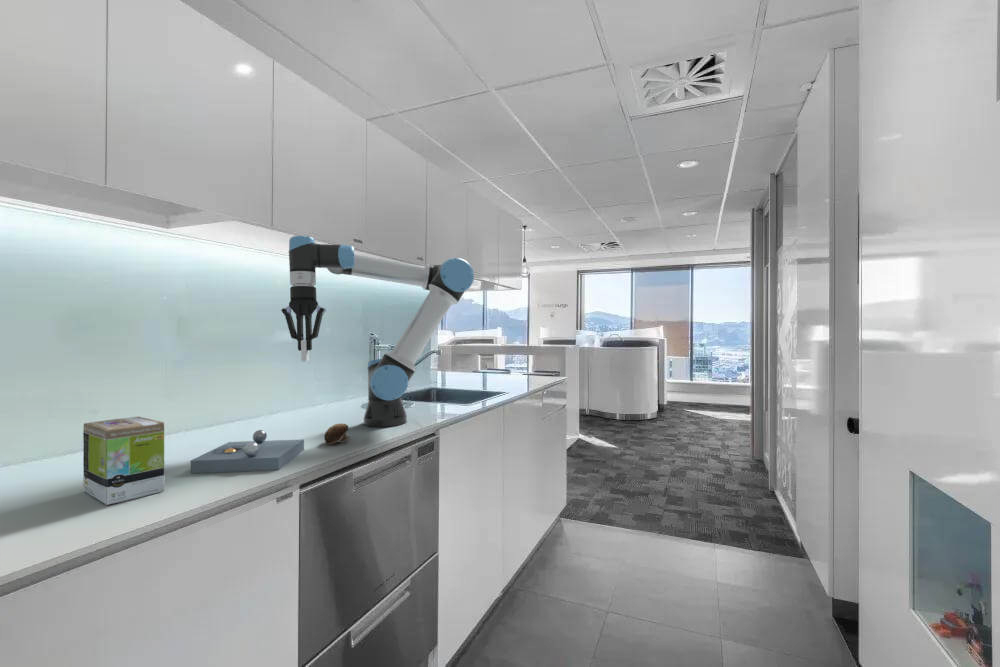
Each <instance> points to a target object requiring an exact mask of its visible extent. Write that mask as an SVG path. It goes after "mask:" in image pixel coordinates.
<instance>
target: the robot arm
mask: <svg viewBox="0 0 1000 667" xmlns="http://www.w3.org/2000/svg"><path fill="white" fill-rule="evenodd" d="M288 245H289V246H288V257H289V258H288V260H289V284H290V285H291V286H290V288H289V289H290V290H289V293H290V294H289V297H290V301H289V303H288V305H287V306H286V307H284V308H281V313H282V314H283V315H284V317H285V321H286V324H287V327H288V332H289V334H290V338H291V339H294V340H296V341H297V350H298V351H299V352H301V354H300V356H301V358H300V359H301V362H309V361H310V353H309V352H310V351H312V349H313V345H312V344H313V340H314V339H316V338H319V333H320V328H321V324H322V320H323V316H324V314H325V312H326V310H327V309H326V308H324V307H322V306H320V305H319V302H318V301H317V288H316V287H315V286H316V285H317V277H316V274H317V273H316V269H317V268H319V269H327V270H328V271H329V273H332V274H334V275H338V276H339V275H346V276H347V275H348V276H353V277H354V276H355V277H361V278H367V279H371V280H372V279H374V280H379V281H383V282H384V281H386V282H392V283H396V284H397V283H398V284H404V285H411V286H416V287H421V288H422V289H423V290H425V291H429V292H428V294H427V296H426V297H425V298H424V301H423V302H422V304H421V305H420V306H419V308H418V309H417V311H416V313H415V314H414V315H413V318H412V319H411V321H410V322H409V324H408V325H407V327H406V328H405V330H404V332H403V333H402V335H401V337H400V338H399V340H398V341H397V342H396V344H395V346H394V347H393V349H391V351H387V352H385V353H384V355H383V356H382V358H376V359H375V358H374V359H370V360H369V361H368V364H367V373H368V374H367V376H368V377H367V379H368V381H367V382H368V383H367V384H368V387H367V388H368V394H367V395H368V403H367V406H366V409H365V413H364V416H363V425H364V426H367V427H374V428H375V427H376V428H377V427H378V428H379V427H381V428H382V427H384V428H385V427H394V426H398V425H403V424H405V423H407V422H408V420H407V419H408V418H407V417H408V416H407V412H406V410H405V407H404V404H403V400H402V397H403V395H404V394H405V392H406V391H407V389H408V387H409V382H410V380H411V379H412V377H413V376H414V373H415V372H416V368H415V363H416V362H417V360H418V359H419V358H420V356H421V354H422V353H423V351H424V350H425V348H426V346H427V344H428V343H429V341H430V340H431V338H432V337H433V335H434V334H435V331H436V330H437V328H438V327H439V325H440V324H441V322H442V320H443V319H444V317H445V316H446V314H447V312H448V310H449V309H450V308H451V306H453V305H457V304H458V303H459V302H460V300H461V298H462V297H463V295H464V293H465V292H466V291H467V290H469V289H470V288H471V286H472V285H473V283H474V279H475V273H474V269H473V267H472V265H471V264H470V263H469V261H467V260H465V259H463V258H460V257H454V258H452V257H451V258H449V259H447V260H445V261H444V262H443V263H442V264H430V263H427V264H426V265H418V264H413V263H407V262H401V261H397V260H390V259H384V258H383V259H382V258H379V257H378V258H377V257H372V256H367V255H361V254H356V253H355V247H354V246H353V245H348V244H344V243H343V244H330V243H329V244H327V243H326V244H324V243H322V244H321V243H316V241H315V238H314V237H312V236H309V235H294V236H291V237H290V238H289V241H288ZM315 311H316V315H315V319H314V325H312V324H313V323H312V319H313V318H312V317H313V313H314V312H315ZM292 312H293V313H294V314H295V318H296V326H295V323H294V318H293V316H292V314H291V313H292ZM304 320H305V322H304ZM304 324H305V325H304ZM304 326H305V327H304ZM312 327H313V328H312ZM304 328H305V338H304Z"/></svg>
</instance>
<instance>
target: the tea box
mask: <svg viewBox="0 0 1000 667" xmlns="http://www.w3.org/2000/svg"><path fill="white" fill-rule="evenodd" d="M82 430H83V433H82V434H83V436H82V437H83V438H82V440H83V442H82V443H83V449H82V450H83V453H82V454H83V455H82V456H83V458H82V459H83V463H82V465H83V478H82V479H83V480H82V481H83V491H84V492H85V493H87V494H89V495H90V496H91V497H93V498H95V499H97V500H99V501H100V502H101V503H103V504H104V505H107V506H108V505H113V504H118V503H122V502H127V501H131V500H135V499H138V498H142V497H147V496H151V495H154V494H158V493H161V492H164V490H165V477H166V476H165V422H163V421H160V420H155V419H151V418H146V417H142V416H132V417H131V416H130V417H124V418H123V417H122V418H115V419H114V418H113V419H107V420H99V421H91V422H84V423H83V429H82Z"/></svg>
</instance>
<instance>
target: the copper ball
mask: <svg viewBox="0 0 1000 667" xmlns="http://www.w3.org/2000/svg"><path fill="white" fill-rule="evenodd" d="M234 451H236V450H235V449H233V448H229V449H226V450H225V451H224V452H234Z"/></svg>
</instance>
